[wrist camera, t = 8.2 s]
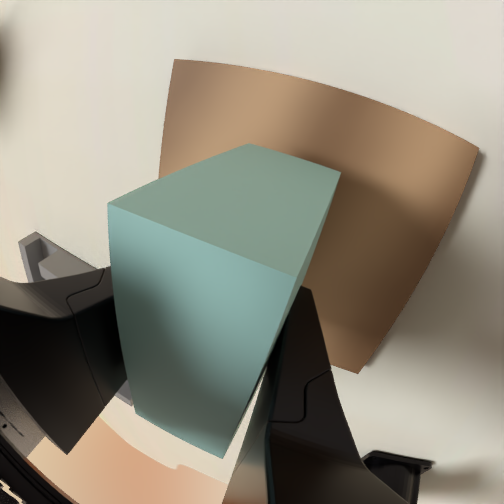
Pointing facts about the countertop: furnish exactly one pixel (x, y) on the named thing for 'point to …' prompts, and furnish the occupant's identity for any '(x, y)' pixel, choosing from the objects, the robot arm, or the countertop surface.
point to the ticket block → (211, 283)
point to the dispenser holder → (56, 273)
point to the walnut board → (348, 188)
